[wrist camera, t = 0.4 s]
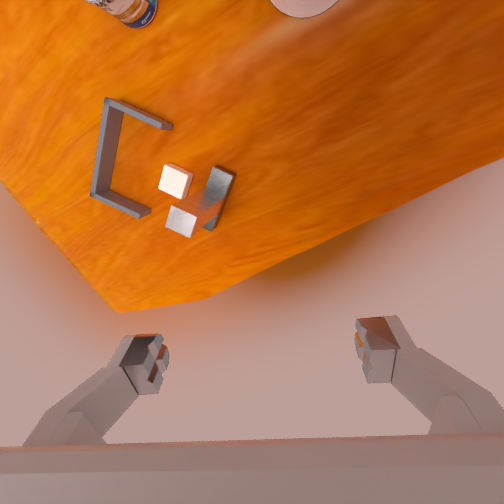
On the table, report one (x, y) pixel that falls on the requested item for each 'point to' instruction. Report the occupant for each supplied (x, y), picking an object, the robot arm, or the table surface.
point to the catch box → (108, 152)
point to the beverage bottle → (129, 10)
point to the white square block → (175, 181)
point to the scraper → (202, 205)
